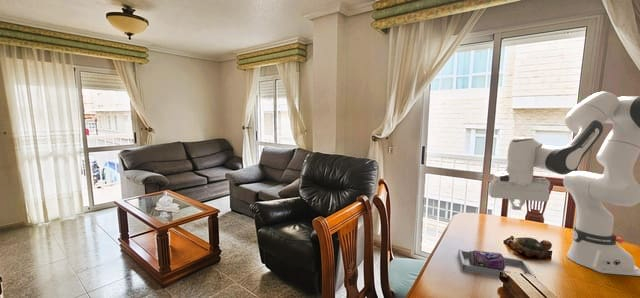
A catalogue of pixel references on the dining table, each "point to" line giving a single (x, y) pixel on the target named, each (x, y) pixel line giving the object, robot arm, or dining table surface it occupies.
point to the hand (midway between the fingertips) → (516, 209)
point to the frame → (490, 270)
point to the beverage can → (487, 259)
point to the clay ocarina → (532, 246)
